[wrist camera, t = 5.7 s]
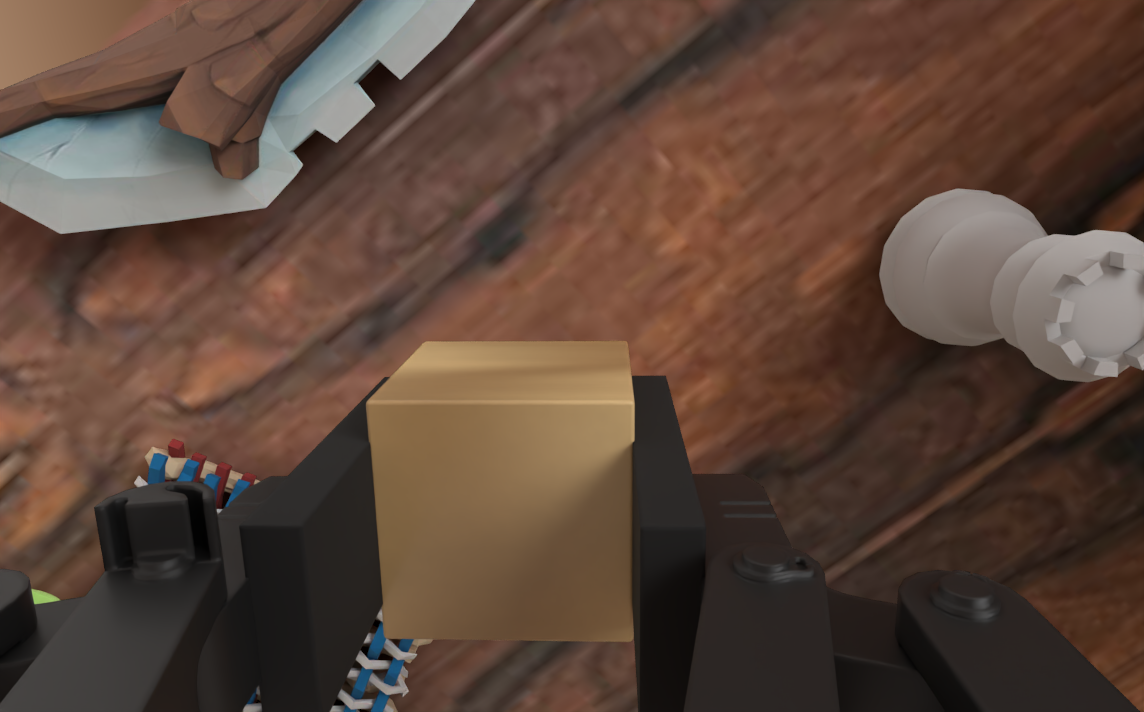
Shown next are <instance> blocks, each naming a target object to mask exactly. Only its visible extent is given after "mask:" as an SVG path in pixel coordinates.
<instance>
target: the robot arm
mask: <svg viewBox="0 0 1144 712" xmlns="http://www.w3.org/2000/svg"><path fill="white" fill-rule="evenodd" d="M389 378H390V377H384V378H383V379H382V381H381V382H380V383H379V384H378V385H377V386H376V387H375V388H374V389H373V390H372V391H371V392H370V393H369V394H368V395H367V396H366V397H365V398H364V399H363V400H362V401H361V402H360V403H359V404H358V405H357V406H356V407H355V408H354V409H353V410H352V411H351V412H350V413H349V414H348V415H347V416H346V417H345V418H344V419H343V420H342V421H341V422H340V423H339V424H338V425H337V426H336V427H335V428H334V429H333V430H332V432H331V433H330V434H329V435H328V436H327V437H326V438H325V439H324V440H323V441H322V442H321V443H320V444H319V445H318V446H317V447H316V448H315V449H314V450H313V451H312V452H311V453H310V454H309V455H308V456H307V457H306V458H305V459H304V460H303V461H302V462H301V463H300V464H299V465H298V466H297V467H296V468H295V469H294V470H293V471H292V472H291V473H290V474H289V475H288V476H271V477H269V478H267V479H264V480H262V481H260V482H258V483H256V484H254V485H252V486H250V487H248V488H246V489H244V490H243V491H242V492H241V493H240V494H239V495H238V496H237V497H236V498H235V499H234V500H232V501H231V502H230V503H229V507H225V508H224V509H223V510H222V511H221V512H220V513H219V514H217V507H216V499H215V492H214V490H213V489H212V488H211V487H210V486H208V485H207V484H203V483H198V482H193V481H170V482H162V483H155V484H148V485H145V486H141V487H137V488H133V489H129V490H126V491H123V492H121V493H118V494H116V495H114V496H111V497H109V498H107V499H105V500H104V501H102V502H101V503H100V504H98V505H97V506H95V507H94V509H95V515H96V521H97V527H98V533H99V539H100V545H101V550H102V556H103V562H104V568H105V572H104V573H103V575H102V576H101V577H100V578H99V580H98V581H97V582H96V583H95V585H94V586H93V587H92V588H91V590H90V591H89V592H88V593H87V595H86V596H85V597H79V598H73V599H66V600H60V601H53V602H47V603H41V604H34V600H33V595H32V590H31V585H30V579H29V577H27V576H26V575H25V574H24V573H22V572H21V571H14V570H8V569H0V712H243V709H244V707H245V706H246V704H247V703H248V701H249V700H250V698H251V697H252V695H253V694H254V692H255V690H256V689H257V687H258V686H259V690H260V698H261V706H262V712H330V711H331V709H332V707H333V704H334V702H335V700H336V698H337V696H338V694H339V692H340V690H341V688H342V686H343V684H344V682H345V680H346V678H347V676H348V674H349V672H350V670H351V668H352V666H353V664H354V662H355V660H356V658H357V656H358V654H359V652H360V650H361V648H362V646H363V643H364V641H365V639H366V637H367V635H368V633H369V631H370V629H371V627H372V625H373V623H374V621H375V619H376V617H377V615H378V613H379V611H380V609H381V607H382V605H383V597H382V585H381V572H380V560H379V547H378V535H377V522H376V510H375V497H374V485H373V472H372V459H371V447H370V442H369V438H368V425H367V412H366V402H367V401H368V399H369V398H370V397H371V396H372V395H373V394H374V393H375V392H376V391H377V390H378V389H379V388H380V387H381V386H382V385H383V384H384V383H385V382H386V381H387V380H388V379H389ZM632 383H633V392H634V401H635V441H634V442H633V482H632V609H633V626H634V644H635V661H636V678H637V695H638V712H1140V711H1139V710H1138V709H1137V708H1136V707H1135V706H1134V705H1133V704H1132V703H1131V702H1130V701H1129V700H1128V699H1127V698H1126V697H1125V696H1124V695H1123V694H1122V693H1121V692H1120V691H1119V690H1118V689H1117V688H1116V687H1115V686H1114V685H1113V684H1112V683H1111V682H1110V681H1108V680H1107V679H1106V678H1105V677H1104V676H1103V675H1102V674H1101V673H1100V672H1099V671H1098V670H1097V669H1096V668H1095V667H1094V666H1093V665H1092V664H1091V663H1090V662H1089V661H1088V660H1087V659H1086V658H1085V657H1084V656H1083V655H1082V654H1081V653H1080V652H1079V651H1078V650H1077V649H1076V648H1075V647H1074V646H1073V645H1072V644H1071V643H1070V642H1069V641H1068V640H1067V639H1066V638H1065V637H1064V636H1063V635H1062V634H1061V633H1060V632H1059V631H1058V630H1057V629H1056V628H1055V627H1054V626H1053V625H1052V624H1051V623H1050V622H1049V621H1048V620H1047V619H1045V618H1044V617H1043V616H1042V615H1041V614H1040V613H1039V612H1038V611H1037V610H1036V609H1035V608H1034V607H1033V606H1032V605H1031V604H1030V603H1029V602H1028V601H1027V600H1026V599H1025V598H1023V597H1022V596H1020V595H1019V594H1018V593H1016V592H1015V591H1013V590H1012V589H1011V588H1009V587H1007V586H1004V585H1002V584H1000V583H997V582H995V581H993V580H990V579H989V578H988V577H986V576H983V575H979V574H976V573H973V575H972V574H970V572H967V571H961V570H953V571H943V570H935V571H926V572H918V573H916V574H914V575H912V576H910V577H907V578H905V579H904V580H903V582H902V584H901V586H900V587H899V590H898V601H897V604H893V603H887V602H882V601H876V600H870V599H865V598H860V597H856V596H852V595H848V594H844V593H842V592H839V591H836V590H833V589H831V588H828V587H827V586H826V581H825V574H824V572H823V570H822V568H821V566H820V564H819V563H818V562H817V561H816V560H814V559H813V558H812V557H810V556H809V555H807V554H806V553H804V552H801V551H798V550H796V549H793V548H792V547H791V545H790V543H789V540H788V538H787V536H786V534H785V532H784V530H783V528H782V526H781V523H780V521H779V519H778V518H776V513H775V511H774V509H773V506H772V505H771V504H770V500H769V498H768V496H767V494H766V492H765V489H764V487H763V486H761V485H760V484H758V483H757V482H755V481H754V480H752V479H751V478H749V477H748V476H746V475H745V474H692V472H691V468H690V464H689V461H688V457H687V453H686V449H685V446H684V442H683V438H682V434H681V431H680V427H679V423H678V420H677V416H676V412H675V408H674V405H673V401H672V397H671V393H670V390H669V386H668V382H667V379H666V376H632Z"/></svg>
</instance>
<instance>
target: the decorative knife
mask: <svg viewBox="0 0 1144 712" xmlns="http://www.w3.org/2000/svg"><path fill="white" fill-rule="evenodd" d="M474 2H475V0H192V1H190V2H188V3H186V4H184V5H182V6H181V7H179V8H177V9H176V11H175V12H173V13H172V14H170V15H168V16H166V17H164V18H162V19H160V20H158V21H157V22H155V23H153V24H151V25H149V26H147V27H145V28H144V29H142V30H140V31H138V32H136V33H134V34H132V35H131V36H129V37H127V38H125V39H123V40H121V41H119V42H117V43H116V44H114V45H112V46H110V47H108V48H106V49H104V50H102V51H99V52H97V53H94V54H91V55H89V56H86V57H83V58H80V59H77V60H75V61H72V62H69V63H67V64H64V65H61V66H58V67H56V68H53V69H50V70H47V71H45V72H42V73H40V74H37V75H35V76H33V77H30V78H28V79H26V80H23V81H21V82H19V83H16V84H14V85H11V86H9V87H7V88H4V89H1V90H0V202H2V203H4V204H6V205H8V206H9V207H11V208H13V209H15V210H17V211H19V212H21V213H22V214H24V215H26V216H28V217H30V218H32V219H34V220H36V221H37V222H39V223H41V224H43V225H45V226H47V227H49V228H51V229H52V230H54V231H56V232H58V233H60V234H65V233H74V232H83V231H91V230H100V229H109V228H118V227H127V226H136V225H145V224H153V223H162V222H171V221H178V220H185V219H192V218H199V217H206V216H213V215H220V214H227V213H234V212H241V211H248V210H255V209H262V208H267V206H268V205H269V204H270V203H271V202H272V201H273V200H274V199H275V198H276V197H277V196H278V194H279V193H280V192H281V191H282V190H283V189H284V188H285V187H286V186H287V185H288V184H289V182H290V181H291V180H292V179H293V178H294V177H295V176H296V175H297V173H298V172H299V170H300V169H301V167H302V166H303V164H302V162H301V161H300V160H299V158H298V157H297V156H296V154H295V153H294V152H293V151H294V150H295V149H296V148H297V147H298V146H300V145H301V144H302V143H303V142H304V141H305V140H307V139H308V138H309V137H310V136H311V135H312V134H314V133H315V132H316V131H317V130H318V131H319V132H321V133H322V134H324V135H325V136H327V137H328V138H330V139H331V140H333V141H334V142H336V143H337V142H338V141H339V140H340V139H341V138H342V137H343V136H344V135H345V134H346V133H347V132H348V131H349V130H351V129H352V128H353V127H354V126H355V125H356V124H357V123H358V122H359V121H360V120H361V119H362V118H363V117H364V116H365V115H366V114H367V113H368V112H369V111H370V110H371V109H373V108H374V107H375V104H374V103H373V102H372V100H371V99H370V98H369V97H368V95H367V94H366V93H365V91H364V90H363V89H362V88H361V86H360V85H359V84H358V83H359V82H360V81H361V80H362V79H363V78H364V77H365V76H366V75H367V74H368V73H369V72H370V71H371V70H372V69H373V68H374V67H375V66H376V65H378V64H379V63H382V64H383V65H384V66H385V67H386V68H387V69H389V70H390V71H391V72H392V73H393V74H394V75H396V76H397V77H398V78H399V79H400V80H401V79H402V78H403V77H404V76H405V75H407V74H408V73H409V72H410V71H411V70H412V69H413V68H414V67H415V66H416V65H417V64H418V63H419V62H420V61H421V60H422V59H423V58H424V57H425V56H427V55H428V54H429V53H430V52H431V51H432V50H433V49H434V48H435V47H436V46H437V45H438V44H439V43H440V42H441V41H442V40H443V39H444V38H445V37H446V36H447V35H448V34H449V33H450V31H451V30H452V29H453V28H454V26H455V25H456V24H457V23H458V22H459V20H460V19H461V18H462V17H463V15H464V14H465V13H466V12H467V10H468V9H469V8H470V7H471V5H472V4H473V3H474Z"/></svg>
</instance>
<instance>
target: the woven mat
mask: <svg viewBox="0 0 1144 712" xmlns="http://www.w3.org/2000/svg"><path fill="white" fill-rule="evenodd" d="M168 450H169V451H168ZM168 450H164V449H160V448H155V447H152V448H151V450H150V451H149V452H148V453H147V455H146V456H145V459H146V461H147V463H148V465H149V473H148V484H155V483H162V482H170V481H174V480H177V481H193V482H202V483H204V484H207V485H208V486H210V487H211V488H212V489H213V490H214V492H215V499H216V507H217V514H219V513H220V512H221V511H222V510H223V499H222V497H223V493H224V491H225V492H228V493H230V494H231V496H230V498H229V500H228V502H227V504H226V506H225V507H229V503H230V502H231V501H232V500H234V499H235V498H236V497H237V496H238V495H239V494H240V493H241V492H242V491H243V490H244V489H246V488H248V487H250V486H252V485H254V484H256V483H258V482H260V481H259V480H256V476H255V475H252V474H250V473H245V474H244V475H243V474H240V473H237V472H235V471H232V470H231V468H232V466H230V465H228V464H226V463H223V462H221V463H220V464H219V465H216V464H214V463H211V462H209V461H206V458H207V457H206V456H204V455H202V454H199V453H197V452H196V453H195V454H193V455H192V458H185V451H184V443H183V442H181V441H178V440H175V439H172V441H171V442H170V444H169V445H168ZM134 484H135V485H136V486H137V487H141V486H145V485H148V484H147V483H146V482H145V481H144V480H143V479H142V478H141V477H140V476H138V478H137V479H136V481H135V483H134ZM376 620H378V621H381V622H380V624H379V626H378V628H377V627H374V626H372V627H371V629H370V631H369V633H368V635H367V637H366V639H365V641H364V643H363V646H364V647H366V648H369V651H368V654H367V657H366V656H365V655H364V654H363V652H362V651H361V650H360V652H359V654H358V656H357V658H356V660H355V662H354V664H353V666H352V668H351V670H350V672H349V674H348V676H347V678H346V680H345V682H344V684H343V686H342V688H341V690H340V692H339V694H338V696H337V698H336V699H338V700H341V701H343V702H344V703H345V704H346V705H345V706H333V707H332V709H331V711H330V712H359V711H358V710H357V709H364V710H367V711H370V712H397V710H396V707H395V705H394V703H393V700H391V699H390V698H389V696H390V694H397V693H400V694H401V696H402V697H403V696H405V695H406V694H407V693H408V692H409V690H408V688H407V687H406V685H405V683H404V680H405V677H408V671H407V670H406V669H405V667H404V666H403V664H404V662H407V663H411V661H412V659H414V658H415V657H416V656H417V655H418V654H415V653H416V650H417V648H418V646H420V645H425V644H429V643H431V642H432V640H433V639H387V638H385V637H384V632H383V619H382V607H381V609H380V611H379V613H378V615H377V617H376ZM380 653H383V654H385V655H388V656H391V657H393V659H392V661H390V660H378V658H379V656H380ZM256 699H258V700H261V698H260V690H259V686H258V687H257V689H256V690H255V692H254V694H253V695H252V697H251V698H250V700H249V701H248V703H247V704H246V706H245V707H244V709H243V712H262V706H261V703H256V704H255V702H256Z"/></svg>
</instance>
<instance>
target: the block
mask: <svg viewBox="0 0 1144 712" xmlns="http://www.w3.org/2000/svg"><path fill="white" fill-rule="evenodd" d="M366 412H367V425H368V438H369V442H370V447H371V459H372V472H373V485H374V497H375V510H376V522H377V535H378V547H379V560H380V572H381V585H382V597H383V605H382V619H383V632H384V637H385V638H387V639H443V640H521V641H598V642H630V641H632V639H633V629H634V626H633V609H632V482H633V442H634V441H635V401H634V392H633V383H632V374H631V365H630V356H629V347H628V343H627V342H626V341H466V342H424V343H423V344H422V345H421V346H420V347H419V348H418V349H417V350H416V351H415V352H414V353H413V354H412V355H411V356H410V357H409V358H408V359H407V360H406V361H405V362H404V363H403V364H402V365H401V366H400V368H399V369H398V370H397V371H396V372H395V373H394V374H393V375H392V376H391V377H390V378H389V379H388V380H387V381H386V382H385V383H384V384H383V385H382V386H381V387H380V388H379V389H378V390H377V391H376V392H375V393H374V394H373V395H372V396H371V397H370V398H369V399H368V401H367V402H366Z"/></svg>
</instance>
